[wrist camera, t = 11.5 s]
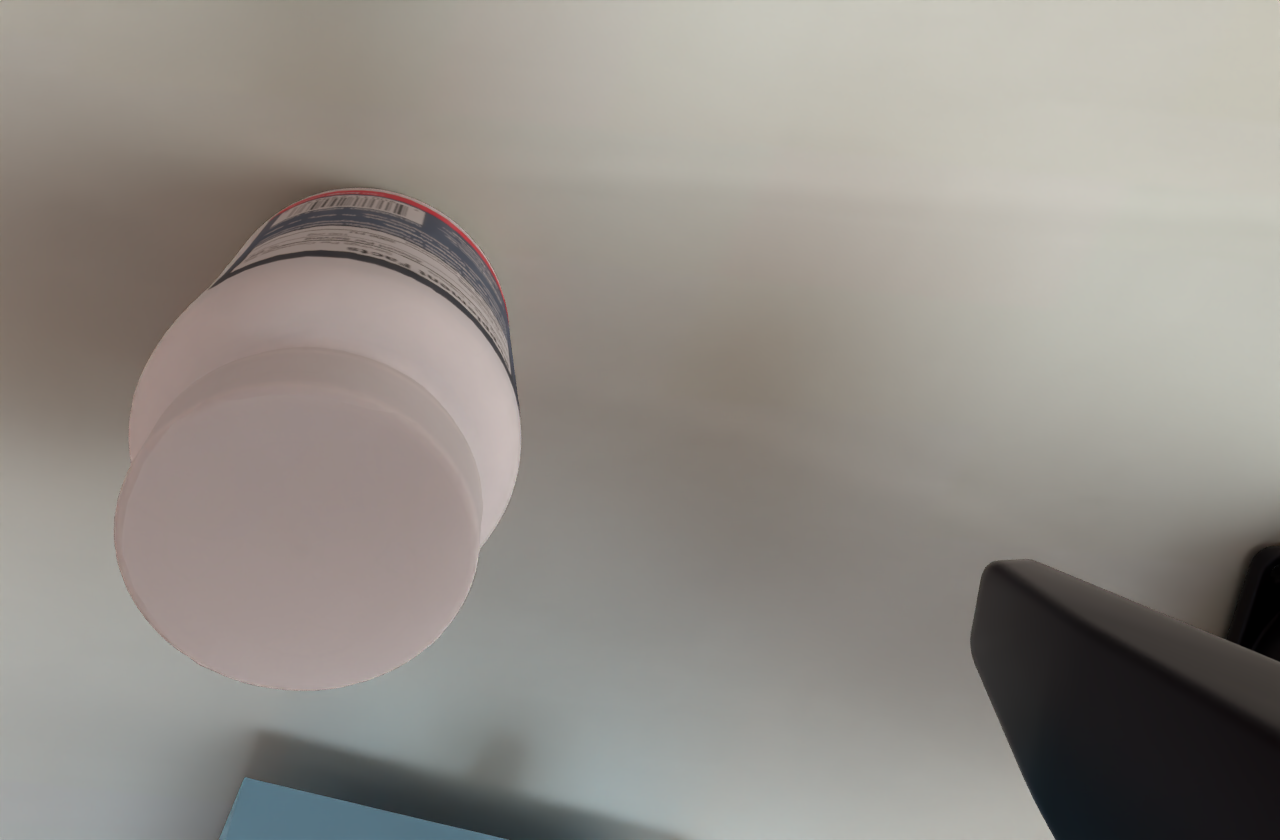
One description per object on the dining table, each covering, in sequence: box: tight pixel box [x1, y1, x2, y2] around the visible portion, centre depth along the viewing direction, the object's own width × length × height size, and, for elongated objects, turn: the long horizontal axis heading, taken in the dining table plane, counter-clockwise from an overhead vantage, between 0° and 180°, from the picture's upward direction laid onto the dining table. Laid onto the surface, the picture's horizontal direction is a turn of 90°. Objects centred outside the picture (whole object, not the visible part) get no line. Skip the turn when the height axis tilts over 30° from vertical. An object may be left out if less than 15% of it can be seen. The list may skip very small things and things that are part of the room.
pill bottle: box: [114, 188, 522, 691], centre depth 15 cm, size 5×5×9 cm
